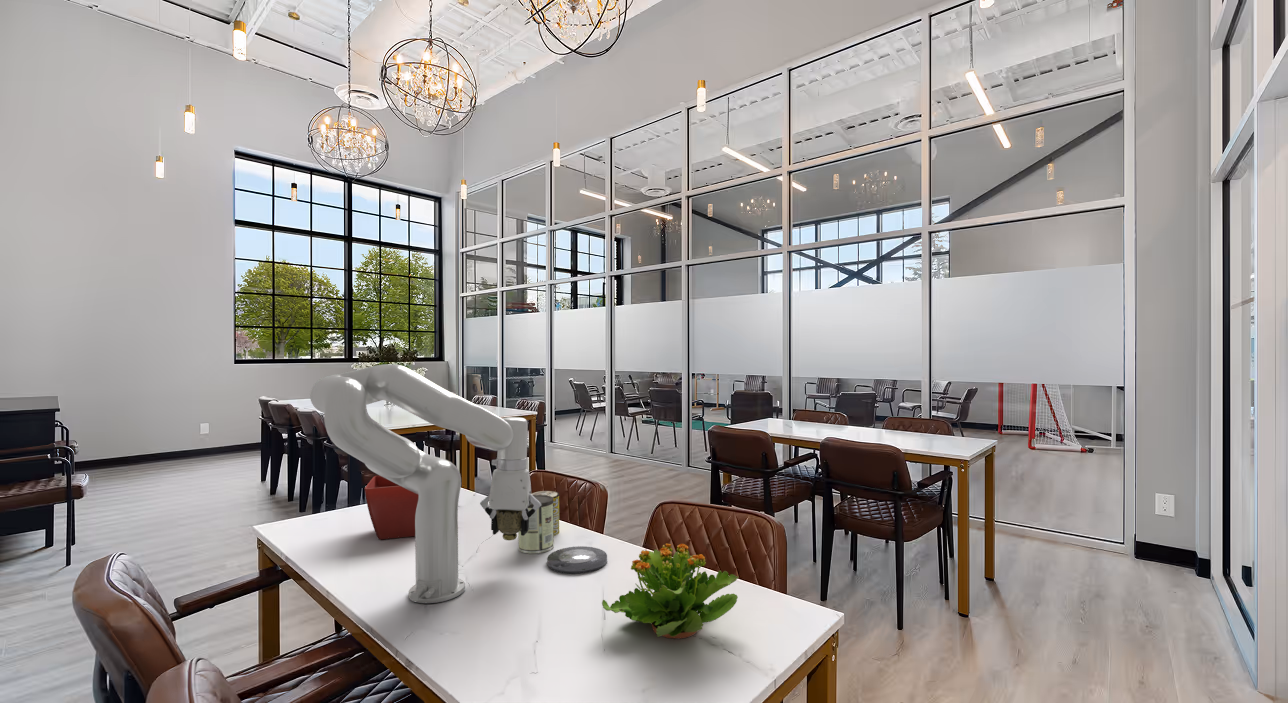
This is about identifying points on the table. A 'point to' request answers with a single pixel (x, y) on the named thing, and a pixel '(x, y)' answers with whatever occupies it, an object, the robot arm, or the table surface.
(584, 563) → the gray dinner plate
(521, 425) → the robot arm
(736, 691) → the table surface
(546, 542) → the coffee can
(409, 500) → the plant pot
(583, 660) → the table surface
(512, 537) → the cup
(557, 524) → the yellow tin can
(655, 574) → the potted flower
